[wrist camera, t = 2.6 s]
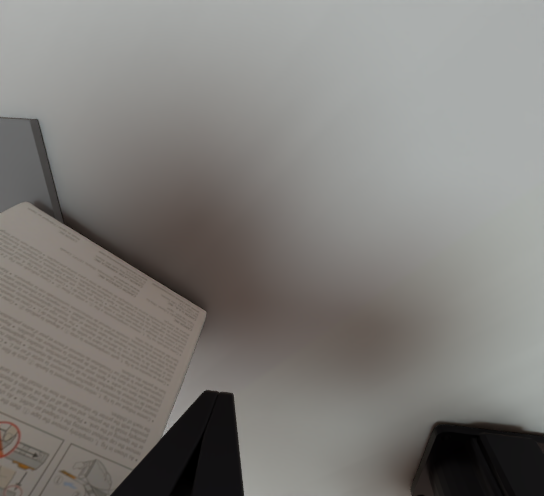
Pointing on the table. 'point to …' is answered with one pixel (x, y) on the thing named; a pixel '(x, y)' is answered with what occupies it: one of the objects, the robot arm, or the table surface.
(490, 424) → the table surface
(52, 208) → the slate mat
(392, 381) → the table surface
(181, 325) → the ink box
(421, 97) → the table surface
